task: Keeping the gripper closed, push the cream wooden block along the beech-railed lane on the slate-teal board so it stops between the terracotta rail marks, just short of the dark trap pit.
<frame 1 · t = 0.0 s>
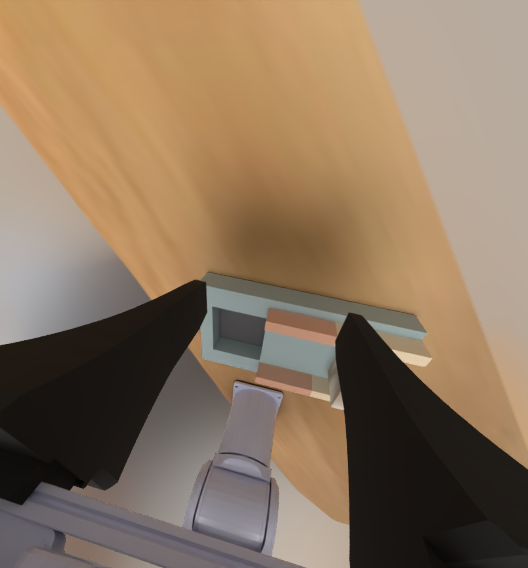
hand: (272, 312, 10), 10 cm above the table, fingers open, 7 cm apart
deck: (294, 332, 24), on the table
block: (357, 363, 22), point 2 cm above the table, touching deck
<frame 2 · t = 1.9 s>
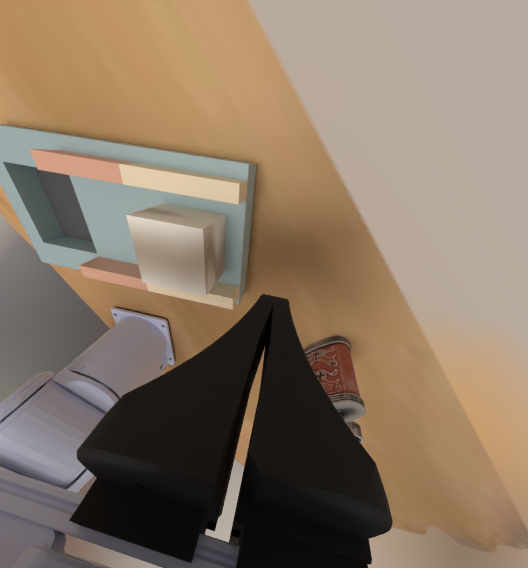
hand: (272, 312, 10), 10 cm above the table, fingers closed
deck: (140, 217, 19), on the table
block: (196, 239, 17), point 2 cm above the table, touching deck
lighter: (318, 351, 25), on the table
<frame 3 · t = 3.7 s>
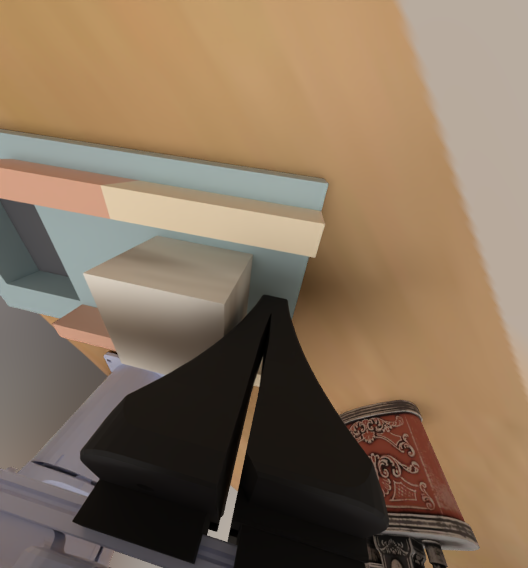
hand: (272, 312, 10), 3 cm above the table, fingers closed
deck: (140, 250, 14), on the table
block: (205, 286, 11), point 3 cm above the table, touching gripper
lighter: (371, 413, 19), on the table
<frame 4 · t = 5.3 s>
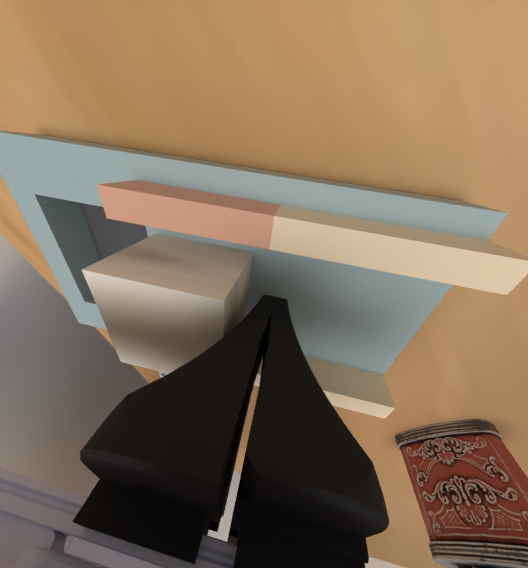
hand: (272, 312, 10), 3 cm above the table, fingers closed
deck: (228, 268, 13), on the table
block: (205, 284, 11), point 2 cm above the table, touching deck, gripper
lighter: (438, 431, 19), on the table
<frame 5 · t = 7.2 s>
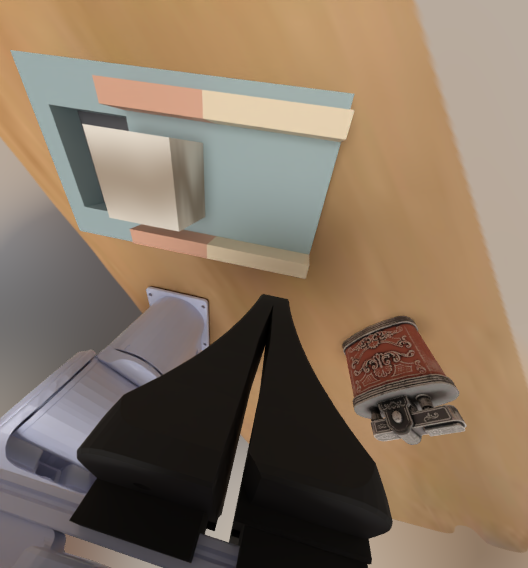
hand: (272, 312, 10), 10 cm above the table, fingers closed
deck: (194, 178, 17), on the table
block: (173, 177, 15), point 2 cm above the table, touching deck
lighter: (375, 334, 23), on the table
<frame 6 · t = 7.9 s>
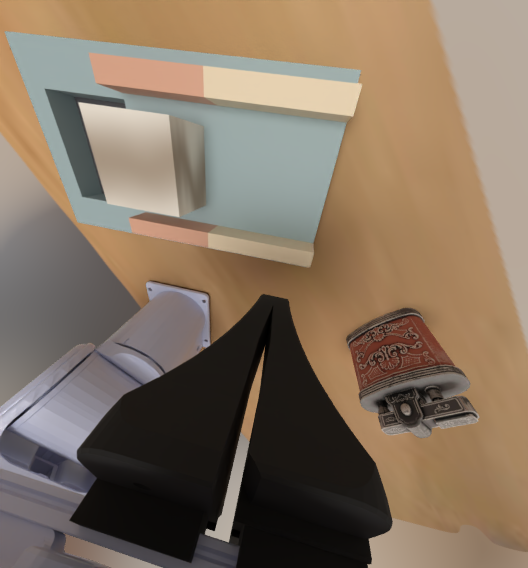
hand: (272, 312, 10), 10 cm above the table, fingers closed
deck: (195, 166, 17), on the table
block: (173, 164, 15), point 2 cm above the table, touching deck
lighter: (380, 328, 22), on the table
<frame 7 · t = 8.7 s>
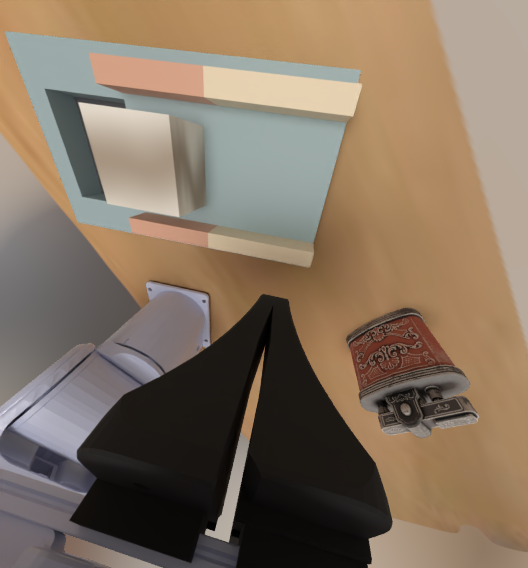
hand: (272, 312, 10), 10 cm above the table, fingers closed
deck: (195, 166, 17), on the table
block: (173, 164, 15), point 2 cm above the table, touching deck
lighter: (380, 328, 22), on the table
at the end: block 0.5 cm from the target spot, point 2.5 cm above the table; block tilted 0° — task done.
